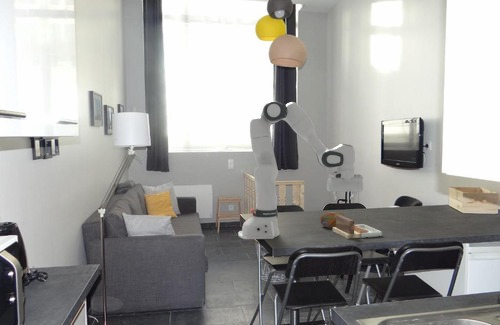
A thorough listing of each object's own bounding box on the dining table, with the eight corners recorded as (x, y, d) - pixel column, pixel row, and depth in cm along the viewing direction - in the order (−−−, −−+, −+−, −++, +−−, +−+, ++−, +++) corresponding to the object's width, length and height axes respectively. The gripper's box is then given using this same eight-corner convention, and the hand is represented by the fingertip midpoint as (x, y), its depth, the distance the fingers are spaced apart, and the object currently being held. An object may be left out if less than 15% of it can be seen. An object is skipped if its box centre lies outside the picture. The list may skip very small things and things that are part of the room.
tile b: (359, 233, 187) (360, 228, 187) (354, 230, 192) (355, 226, 192) (367, 235, 188) (368, 230, 188) (362, 232, 193) (363, 228, 193)
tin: (321, 227, 208) (321, 213, 207) (319, 226, 211) (319, 212, 210) (345, 226, 211) (345, 212, 210) (343, 225, 214) (343, 211, 213)
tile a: (351, 229, 196) (352, 224, 196) (346, 227, 200) (347, 222, 200) (358, 231, 197) (360, 226, 197) (354, 229, 202) (355, 224, 202)
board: (347, 238, 184) (347, 234, 184) (332, 231, 200) (332, 227, 200) (360, 237, 186) (361, 233, 186) (345, 230, 202) (345, 226, 202)
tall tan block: (348, 234, 185) (349, 220, 185) (336, 227, 199) (336, 215, 199) (354, 233, 186) (354, 220, 186) (340, 227, 200) (341, 215, 199)
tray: (362, 237, 185) (362, 233, 185) (344, 229, 203) (344, 225, 203) (382, 236, 188) (382, 231, 188) (363, 228, 206) (363, 224, 206)
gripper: (359, 173, 196) (358, 198, 197) (325, 173, 191) (324, 199, 192) (365, 174, 190) (364, 200, 191) (331, 174, 185) (329, 201, 186)
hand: (344, 199), depth 192 cm, fingers open, 8 cm apart
